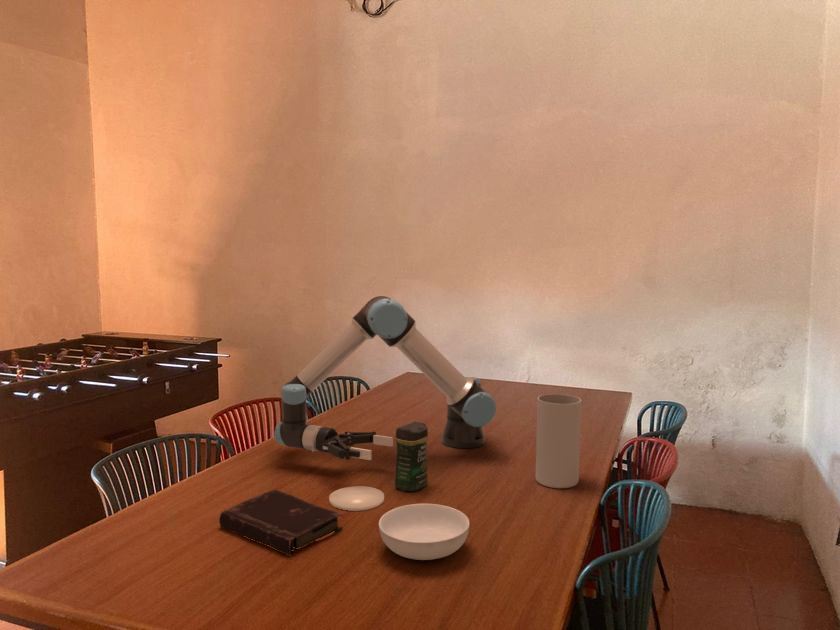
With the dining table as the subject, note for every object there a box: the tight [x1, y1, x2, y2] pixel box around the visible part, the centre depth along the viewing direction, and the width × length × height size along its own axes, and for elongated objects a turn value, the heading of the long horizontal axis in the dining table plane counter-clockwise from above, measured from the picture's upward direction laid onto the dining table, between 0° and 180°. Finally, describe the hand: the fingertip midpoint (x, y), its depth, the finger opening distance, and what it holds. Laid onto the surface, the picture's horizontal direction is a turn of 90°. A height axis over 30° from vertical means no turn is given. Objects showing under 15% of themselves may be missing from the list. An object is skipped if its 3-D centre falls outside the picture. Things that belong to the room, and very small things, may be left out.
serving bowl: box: [378, 503, 470, 561], centre depth 154 cm, size 21×21×7 cm
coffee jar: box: [394, 421, 429, 492], centre depth 192 cm, size 10×8×19 cm
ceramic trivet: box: [328, 485, 385, 512], centre depth 182 cm, size 15×15×1 cm
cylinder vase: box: [535, 393, 582, 489], centre depth 196 cm, size 12×12×25 cm
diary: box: [219, 488, 344, 556], centre depth 164 cm, size 19×25×5 cm
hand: (382, 448), depth 195 cm, fingers open, 13 cm apart
